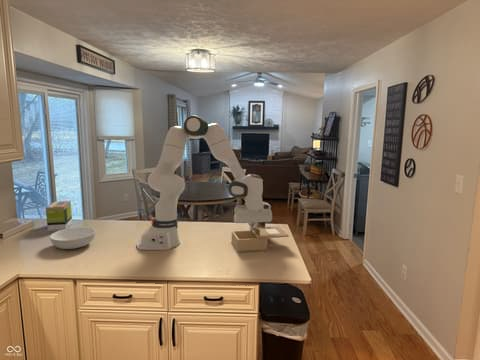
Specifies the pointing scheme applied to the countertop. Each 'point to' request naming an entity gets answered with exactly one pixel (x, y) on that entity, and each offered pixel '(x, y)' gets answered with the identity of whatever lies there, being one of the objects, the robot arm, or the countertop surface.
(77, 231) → the serving bowl
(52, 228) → the tea box
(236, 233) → the box
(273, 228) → the lid
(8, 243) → the countertop surface
